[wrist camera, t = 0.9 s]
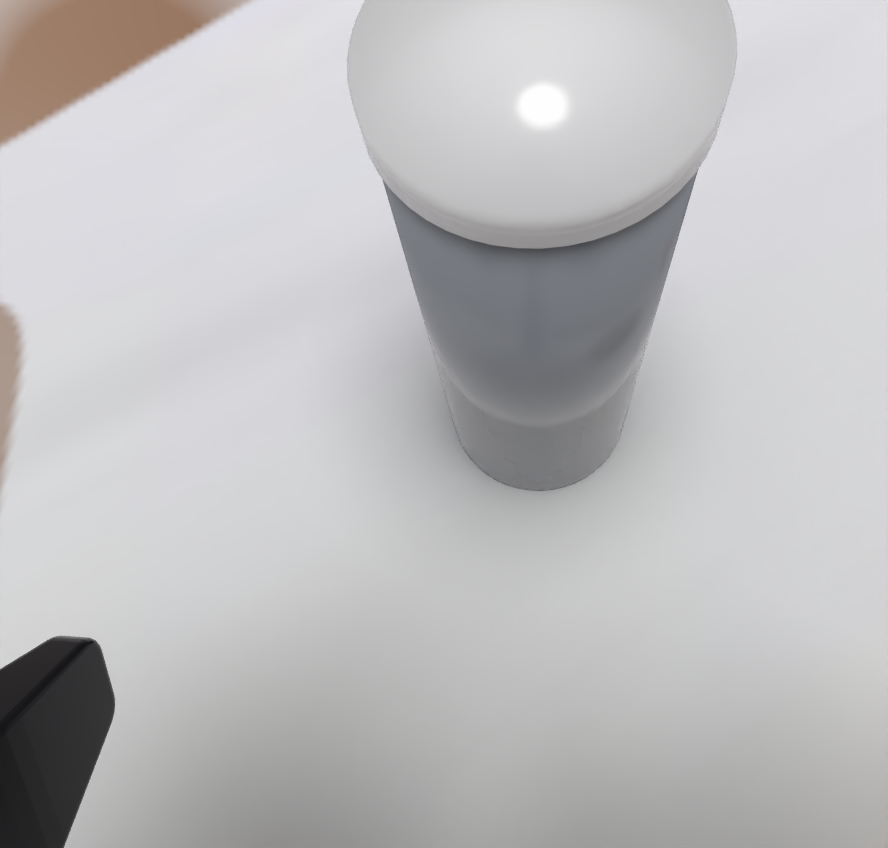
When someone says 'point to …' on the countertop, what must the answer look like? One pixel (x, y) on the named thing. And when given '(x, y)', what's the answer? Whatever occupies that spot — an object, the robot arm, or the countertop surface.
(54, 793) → the robot arm
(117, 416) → the countertop surface
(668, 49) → the canister
